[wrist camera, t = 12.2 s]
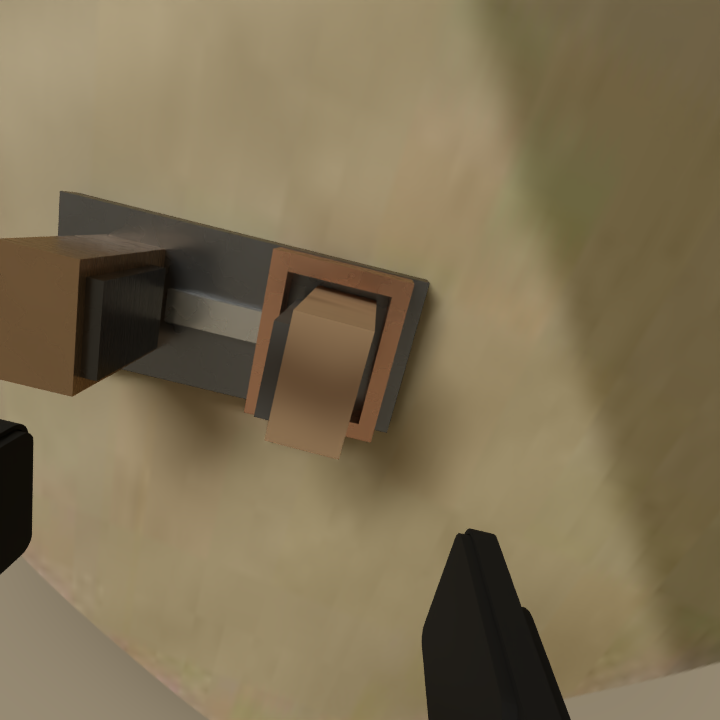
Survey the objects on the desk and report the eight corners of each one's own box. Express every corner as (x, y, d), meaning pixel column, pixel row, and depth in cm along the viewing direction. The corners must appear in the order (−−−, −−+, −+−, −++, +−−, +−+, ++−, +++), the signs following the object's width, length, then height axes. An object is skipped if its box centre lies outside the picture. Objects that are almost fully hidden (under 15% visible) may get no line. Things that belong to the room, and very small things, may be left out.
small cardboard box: (349, 397, 29) (338, 459, 21) (283, 379, 29) (247, 435, 21) (376, 300, 27) (374, 331, 19) (305, 281, 27) (275, 304, 19)
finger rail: (427, 279, 28) (448, 307, 19) (386, 423, 31) (388, 505, 22) (76, 192, 28) (-73, 177, 18) (68, 346, 30) (-64, 399, 21)
